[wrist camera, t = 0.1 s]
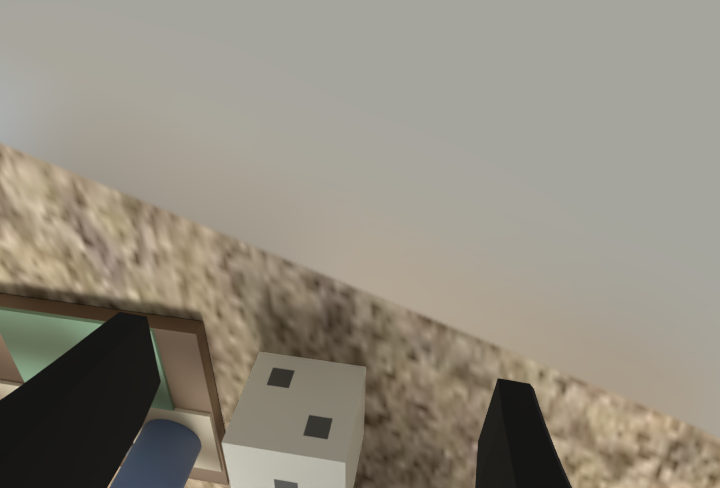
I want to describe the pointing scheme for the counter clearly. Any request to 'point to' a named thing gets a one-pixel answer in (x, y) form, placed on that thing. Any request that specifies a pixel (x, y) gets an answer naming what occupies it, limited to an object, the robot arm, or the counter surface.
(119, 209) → the counter surface
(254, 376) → the beige cube
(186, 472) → the blue cylinder
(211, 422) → the board
